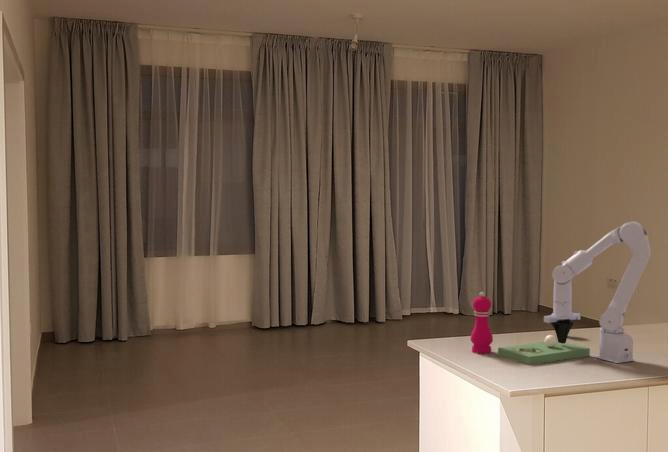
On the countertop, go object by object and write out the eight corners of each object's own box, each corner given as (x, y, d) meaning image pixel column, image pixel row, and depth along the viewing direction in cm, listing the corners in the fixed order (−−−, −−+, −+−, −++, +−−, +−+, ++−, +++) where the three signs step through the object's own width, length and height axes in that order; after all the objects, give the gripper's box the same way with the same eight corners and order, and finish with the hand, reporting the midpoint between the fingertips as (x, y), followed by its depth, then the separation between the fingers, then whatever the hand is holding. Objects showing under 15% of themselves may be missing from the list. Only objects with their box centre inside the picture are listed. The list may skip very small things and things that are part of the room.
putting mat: (589, 355, 215) (589, 348, 215) (529, 364, 203) (529, 356, 203) (556, 347, 228) (556, 340, 228) (498, 355, 216) (498, 347, 216)
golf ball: (559, 347, 216) (560, 335, 216) (550, 348, 214) (551, 336, 214) (550, 345, 220) (550, 333, 219) (541, 346, 218) (541, 334, 218)
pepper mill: (493, 354, 217) (493, 293, 217) (470, 353, 219) (470, 293, 218) (492, 349, 224) (492, 290, 224) (470, 348, 226) (470, 290, 225)
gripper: (569, 298, 226) (568, 338, 226) (537, 301, 219) (536, 342, 219) (585, 301, 219) (585, 342, 220) (553, 304, 213) (552, 346, 213)
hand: (561, 342), depth 219 cm, fingers closed
